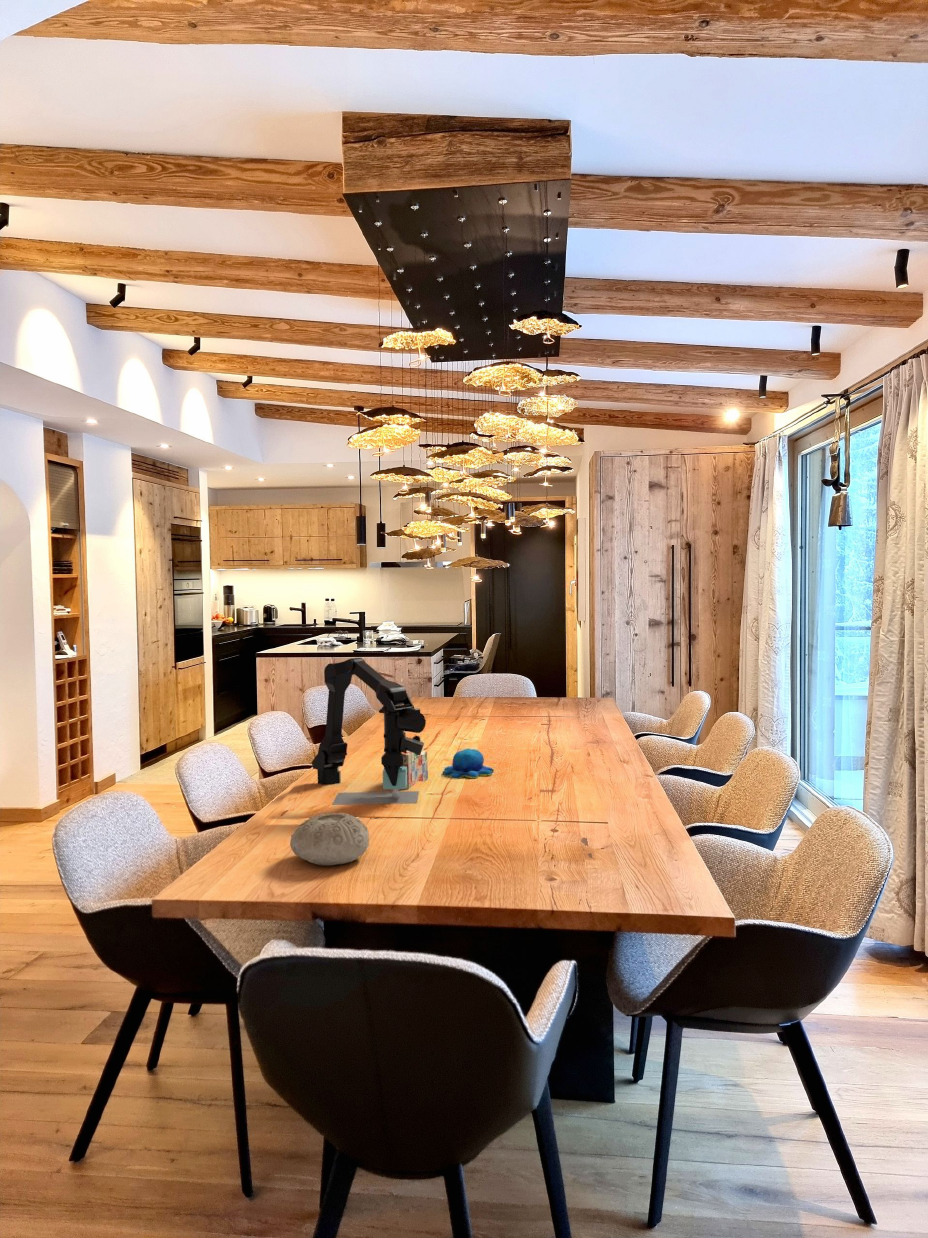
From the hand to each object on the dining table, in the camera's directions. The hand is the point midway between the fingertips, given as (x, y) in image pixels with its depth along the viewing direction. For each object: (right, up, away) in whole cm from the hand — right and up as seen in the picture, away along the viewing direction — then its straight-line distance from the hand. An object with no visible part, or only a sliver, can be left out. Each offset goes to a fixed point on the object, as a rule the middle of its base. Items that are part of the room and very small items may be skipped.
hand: (395, 783), depth 247 cm
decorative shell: (-11, -8, -51) cm, 53 cm away
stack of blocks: (+3, -5, +21) cm, 22 cm away
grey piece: (-5, -6, 0) cm, 8 cm away
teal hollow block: (0, -1, 0) cm, 1 cm away
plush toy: (+21, -5, +38) cm, 44 cm away
